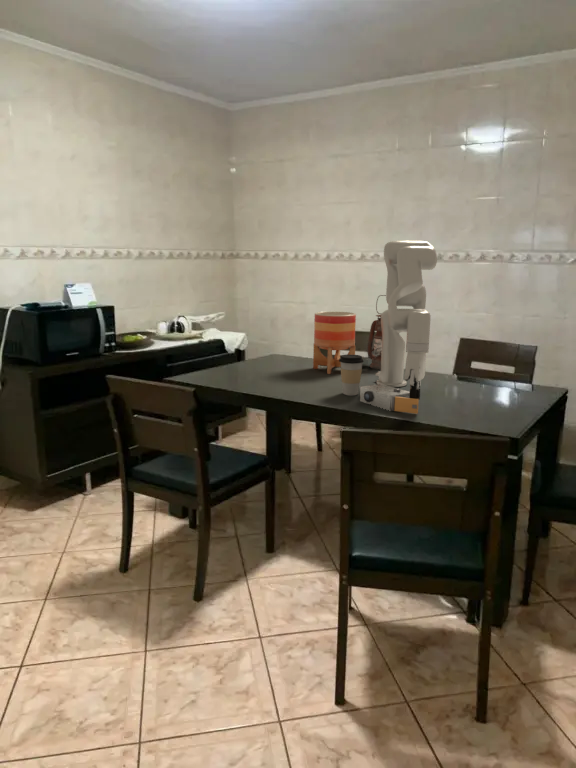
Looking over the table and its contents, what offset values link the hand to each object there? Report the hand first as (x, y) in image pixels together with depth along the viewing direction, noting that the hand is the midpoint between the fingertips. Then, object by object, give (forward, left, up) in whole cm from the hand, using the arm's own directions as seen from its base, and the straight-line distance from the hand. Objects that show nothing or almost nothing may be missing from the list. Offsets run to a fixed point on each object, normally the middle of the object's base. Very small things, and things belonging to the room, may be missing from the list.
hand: (414, 400), depth 194 cm
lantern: (-66, +46, -5) cm, 81 cm away
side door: (-1, -4, -4) cm, 6 cm away
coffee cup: (-32, -2, -5) cm, 33 cm away
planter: (-73, +22, -5) cm, 77 cm away
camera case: (-13, -1, -4) cm, 14 cm away
